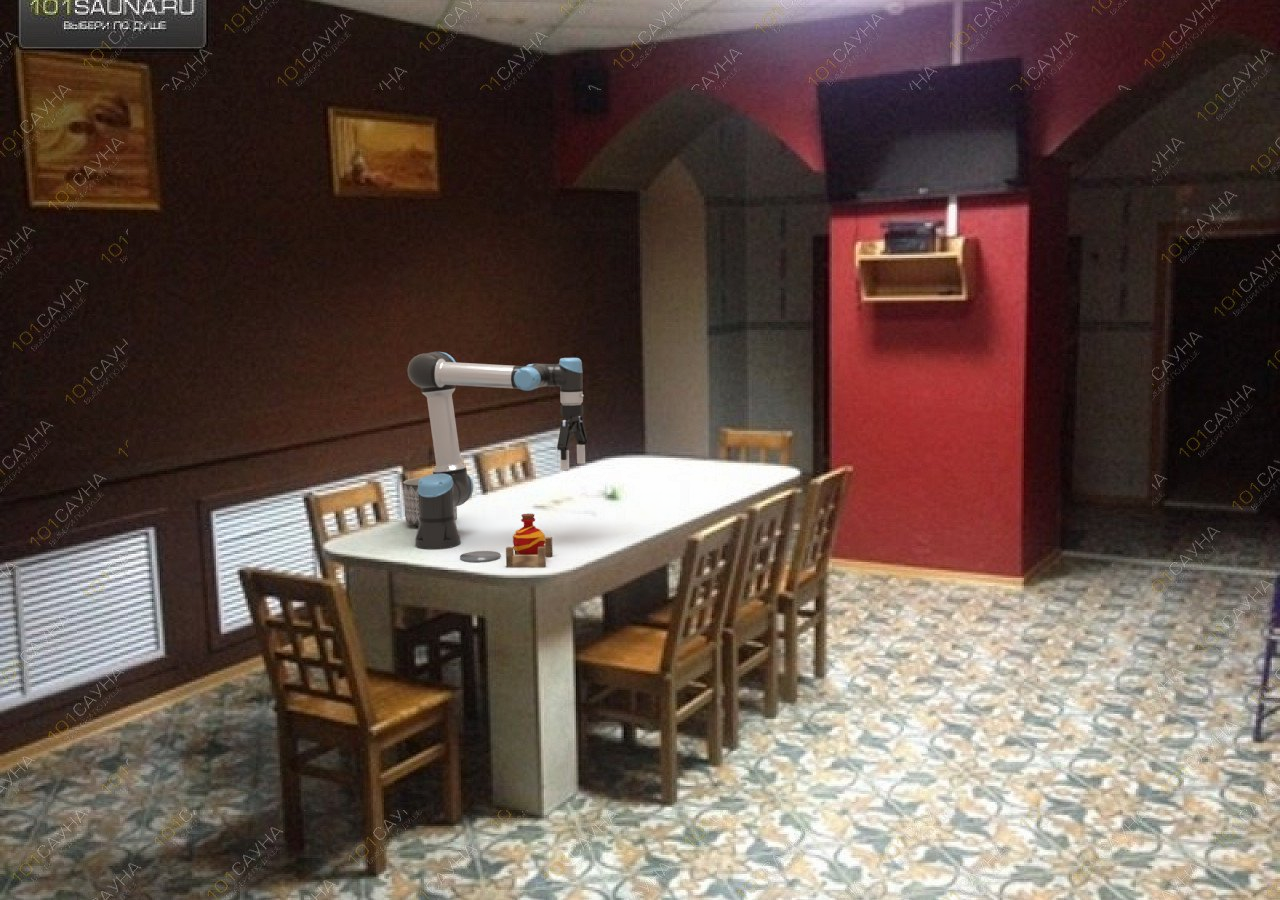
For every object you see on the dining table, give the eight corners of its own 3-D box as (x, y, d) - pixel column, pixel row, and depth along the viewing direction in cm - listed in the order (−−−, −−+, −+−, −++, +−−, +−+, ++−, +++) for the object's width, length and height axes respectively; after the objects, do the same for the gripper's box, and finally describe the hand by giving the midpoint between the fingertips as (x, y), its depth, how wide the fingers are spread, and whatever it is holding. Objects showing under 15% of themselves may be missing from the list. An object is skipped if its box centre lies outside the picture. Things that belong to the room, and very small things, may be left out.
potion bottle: (529, 566, 362) (527, 519, 360) (506, 562, 369) (504, 515, 367) (553, 560, 370) (551, 513, 368) (531, 556, 376) (529, 510, 374)
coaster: (455, 562, 370) (455, 560, 370) (465, 553, 382) (465, 550, 382) (496, 562, 369) (496, 559, 368) (504, 553, 381) (504, 550, 381)
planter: (458, 528, 423) (456, 483, 421) (404, 531, 420) (402, 486, 418) (457, 518, 442) (456, 475, 440) (406, 521, 439) (404, 477, 437)
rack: (506, 567, 362) (505, 548, 361) (515, 555, 378) (515, 537, 377) (544, 567, 361) (544, 548, 360) (552, 555, 377) (552, 537, 376)
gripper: (567, 408, 379) (568, 472, 382) (596, 400, 402) (597, 461, 405) (546, 407, 382) (547, 471, 385) (576, 400, 405) (577, 460, 408)
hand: (573, 466), depth 395 cm, fingers open, 13 cm apart
